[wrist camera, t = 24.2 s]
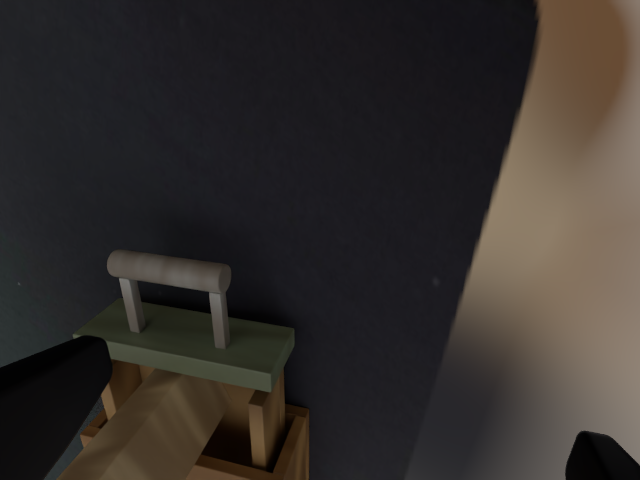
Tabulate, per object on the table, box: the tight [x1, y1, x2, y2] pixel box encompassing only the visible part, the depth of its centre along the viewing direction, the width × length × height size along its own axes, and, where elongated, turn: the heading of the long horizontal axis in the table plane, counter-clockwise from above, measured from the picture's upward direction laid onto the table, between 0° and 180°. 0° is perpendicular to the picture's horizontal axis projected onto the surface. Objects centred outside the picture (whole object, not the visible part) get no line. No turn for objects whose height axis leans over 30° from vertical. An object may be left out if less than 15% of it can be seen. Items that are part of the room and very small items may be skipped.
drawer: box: [73, 249, 295, 473], centre depth 24 cm, size 18×11×4 cm, turn 179°
